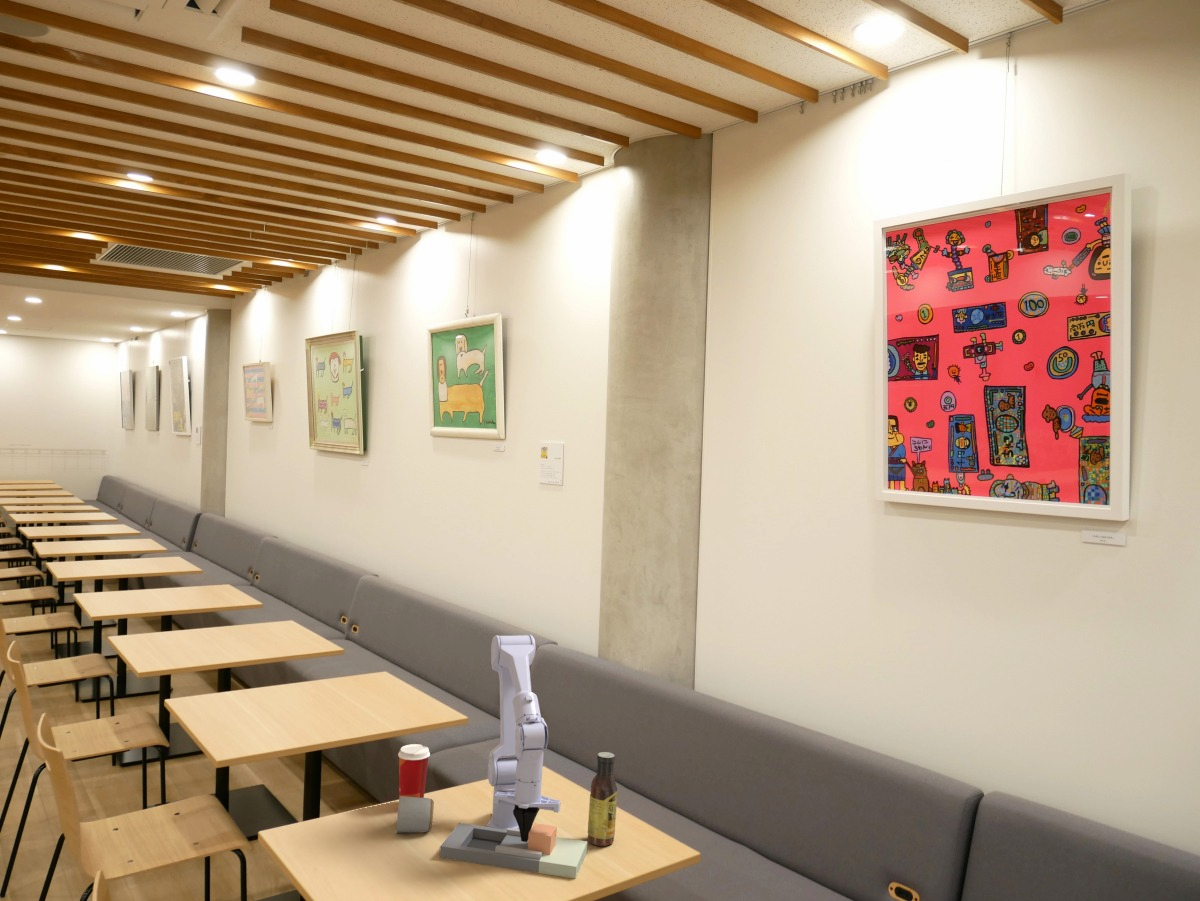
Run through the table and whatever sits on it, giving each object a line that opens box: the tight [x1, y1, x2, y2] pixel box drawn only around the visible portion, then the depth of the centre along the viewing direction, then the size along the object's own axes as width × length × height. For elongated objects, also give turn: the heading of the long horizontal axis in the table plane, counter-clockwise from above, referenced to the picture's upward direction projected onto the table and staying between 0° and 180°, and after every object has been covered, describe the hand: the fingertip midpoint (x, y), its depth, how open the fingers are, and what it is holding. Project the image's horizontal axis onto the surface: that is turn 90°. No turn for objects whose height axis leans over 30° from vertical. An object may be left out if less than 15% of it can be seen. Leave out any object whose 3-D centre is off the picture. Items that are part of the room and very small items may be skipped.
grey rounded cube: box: [395, 796, 435, 833], centre depth 201 cm, size 11×8×8 cm
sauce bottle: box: [587, 751, 618, 847], centre depth 200 cm, size 7×6×20 cm
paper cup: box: [397, 743, 431, 798], centre depth 212 cm, size 8×8×14 cm
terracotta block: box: [528, 822, 558, 855], centre depth 189 cm, size 5×5×4 cm
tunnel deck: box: [439, 822, 588, 879], centre depth 191 cm, size 12×30×4 cm, turn 80°
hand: (525, 839), depth 190 cm, fingers closed
